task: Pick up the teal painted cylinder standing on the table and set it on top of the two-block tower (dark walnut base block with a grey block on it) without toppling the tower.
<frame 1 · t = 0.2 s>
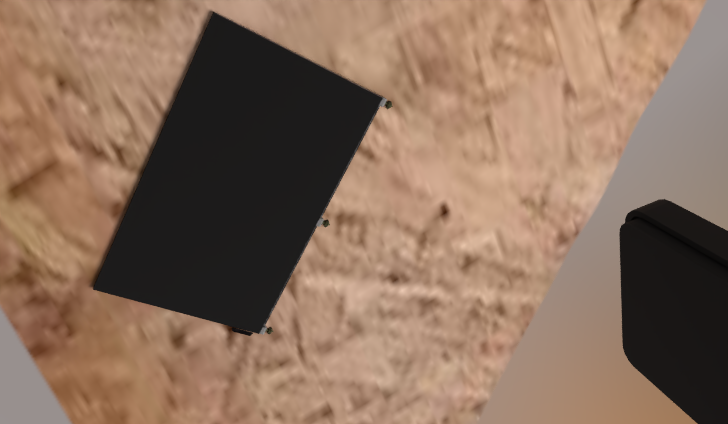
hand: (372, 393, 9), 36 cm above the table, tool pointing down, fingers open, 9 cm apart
black flat plate: (244, 191, 47), on the table
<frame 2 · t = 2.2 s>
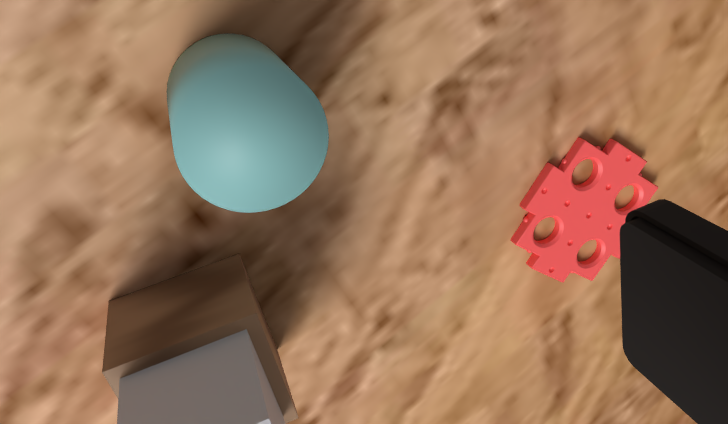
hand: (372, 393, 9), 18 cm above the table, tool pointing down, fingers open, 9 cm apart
walnut base block: (198, 326, 29), on the table, touching grey top block
grey top block: (206, 398, 25), point 5 cm above the table, touching walnut base block
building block: (577, 208, 34), on the table
teal cylinder: (230, 96, 25), on the table
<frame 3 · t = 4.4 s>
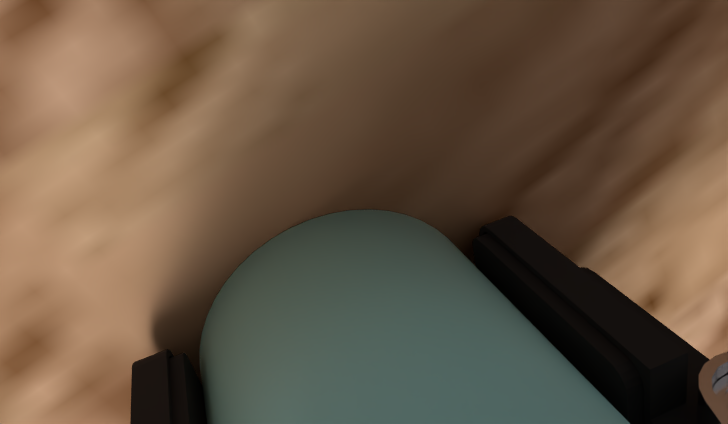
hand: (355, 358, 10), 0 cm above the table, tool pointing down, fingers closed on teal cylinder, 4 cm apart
teal cylinder: (347, 340, 11), on the table, touching gripper
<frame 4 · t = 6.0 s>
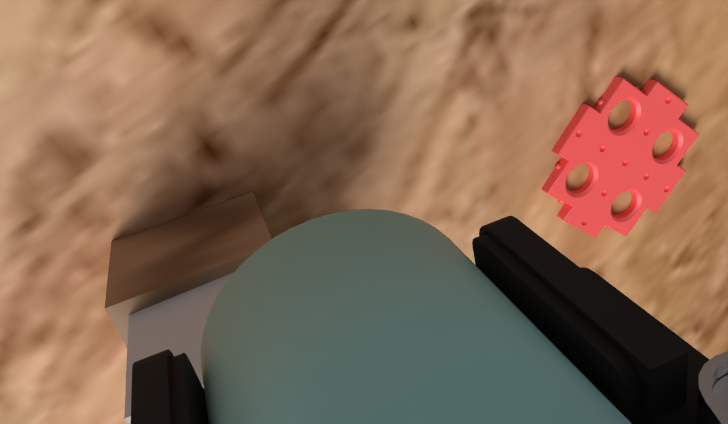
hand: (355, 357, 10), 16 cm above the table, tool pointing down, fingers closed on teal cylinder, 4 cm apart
walnut base block: (208, 272, 27), on the table, touching grey top block
grey top block: (225, 338, 22), point 5 cm above the table, touching walnut base block
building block: (612, 156, 31), on the table
teal cylinder: (348, 340, 11), point 15 cm above the table, touching gripper
when the fingers open (11 cm above the table, at t = 7.7 s): teal cylinder stays where it is, resting on grey top block.
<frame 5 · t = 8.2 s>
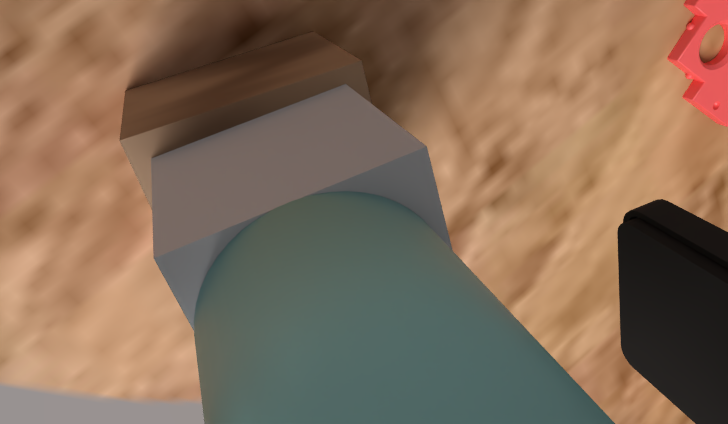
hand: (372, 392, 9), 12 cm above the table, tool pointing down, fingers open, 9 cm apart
walnut base block: (252, 147, 20), on the table, touching grey top block
grey top block: (285, 206, 16), point 5 cm above the table, touching teal cylinder, walnut base block
teal cylinder: (330, 313, 11), point 10 cm above the table, touching grey top block
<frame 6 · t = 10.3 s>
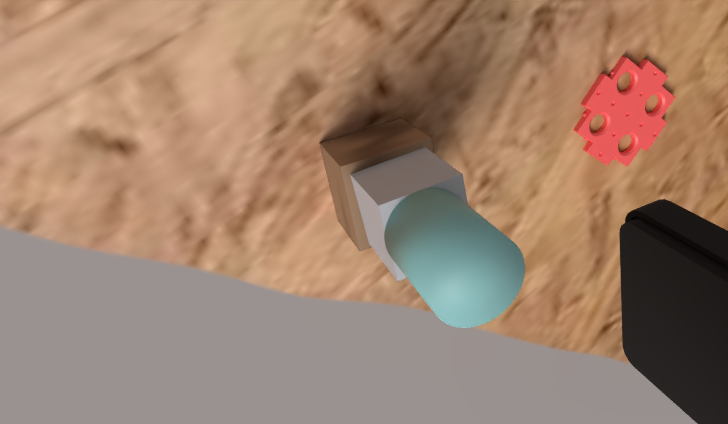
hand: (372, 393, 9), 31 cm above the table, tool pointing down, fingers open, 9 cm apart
walnut base block: (368, 169, 42), on the table, touching grey top block
grey top block: (396, 196, 38), point 5 cm above the table, touching teal cylinder, walnut base block
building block: (618, 111, 48), on the table
teal cylinder: (426, 229, 34), point 10 cm above the table, touching grey top block
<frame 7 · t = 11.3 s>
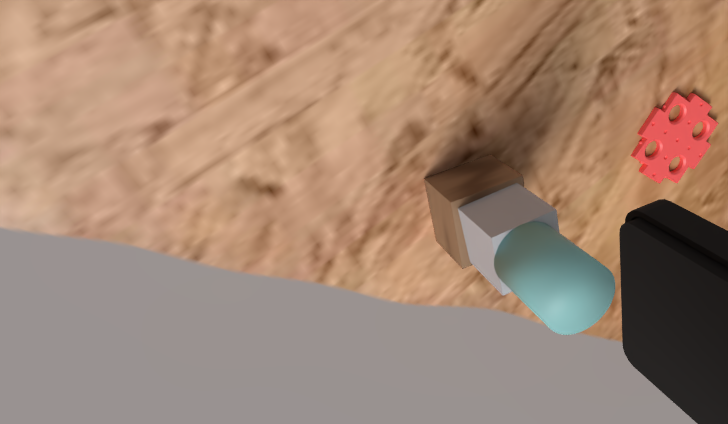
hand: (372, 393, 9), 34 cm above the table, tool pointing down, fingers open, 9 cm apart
walnut base block: (462, 198, 50), on the table, touching grey top block
grey top block: (493, 223, 46), point 5 cm above the table, touching teal cylinder, walnut base block
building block: (669, 136, 55), on the table
teal cylinder: (526, 254, 42), point 10 cm above the table, touching grey top block
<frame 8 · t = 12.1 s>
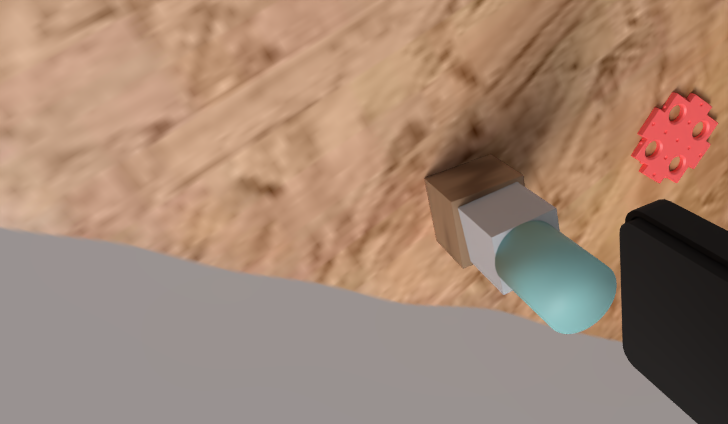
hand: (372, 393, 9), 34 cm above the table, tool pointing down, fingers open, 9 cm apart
walnut base block: (462, 197, 50), on the table, touching grey top block
grey top block: (493, 222, 46), point 5 cm above the table, touching teal cylinder, walnut base block
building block: (669, 136, 55), on the table
teal cylinder: (527, 253, 42), point 10 cm above the table, touching grey top block
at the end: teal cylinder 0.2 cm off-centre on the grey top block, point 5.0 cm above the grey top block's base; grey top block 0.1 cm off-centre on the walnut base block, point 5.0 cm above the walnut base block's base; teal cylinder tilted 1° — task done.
